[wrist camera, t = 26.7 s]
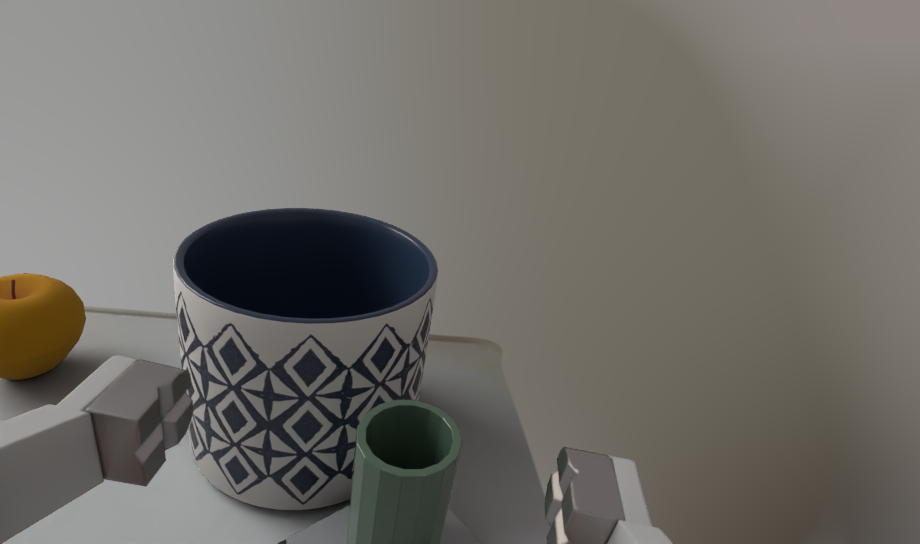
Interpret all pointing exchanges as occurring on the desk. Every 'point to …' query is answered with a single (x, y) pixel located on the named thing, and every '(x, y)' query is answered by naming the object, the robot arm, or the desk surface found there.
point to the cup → (402, 474)
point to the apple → (36, 324)
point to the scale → (330, 533)
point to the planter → (297, 345)
